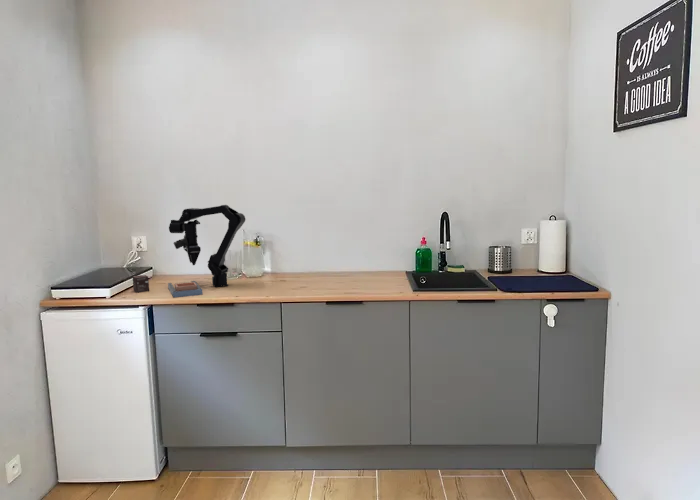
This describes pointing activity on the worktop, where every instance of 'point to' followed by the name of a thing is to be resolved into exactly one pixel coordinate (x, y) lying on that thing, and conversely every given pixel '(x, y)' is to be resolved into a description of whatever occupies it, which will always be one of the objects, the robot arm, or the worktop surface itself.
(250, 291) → the worktop surface
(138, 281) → the box
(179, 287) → the crate
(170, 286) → the crate bay
